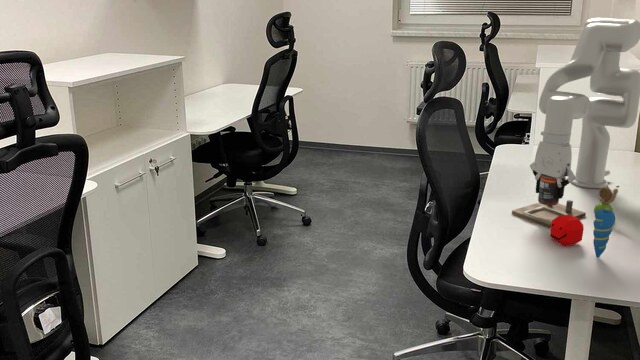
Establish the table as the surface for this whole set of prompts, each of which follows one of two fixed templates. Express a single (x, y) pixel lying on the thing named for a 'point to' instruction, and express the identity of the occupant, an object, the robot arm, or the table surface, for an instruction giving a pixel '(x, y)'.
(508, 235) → the table surface
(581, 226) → the ball
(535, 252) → the table surface
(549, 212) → the pin board
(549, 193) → the supplement bottle
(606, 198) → the snail figurine
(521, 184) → the table surface
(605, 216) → the ornament
